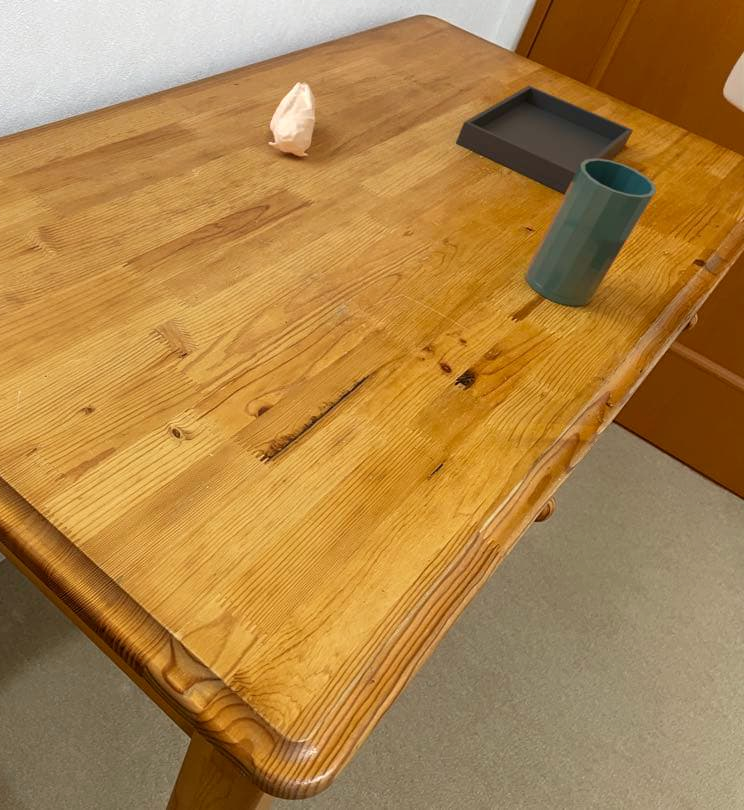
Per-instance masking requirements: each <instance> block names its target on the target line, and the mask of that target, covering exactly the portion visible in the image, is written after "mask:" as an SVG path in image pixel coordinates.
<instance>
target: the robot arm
mask: <svg viewBox="0 0 744 810" xmlns="http://www.w3.org/2000/svg"><path fill="white" fill-rule="evenodd" d="M722 95H723V97H724V99H725V100H726V101H727V102H728V103H729V104H731V105H733V106H734V107H735V108H737V109H738V110H740V111H741V112H743V113H744V51H743V52H742V53H741V55H740V57H739V58H738V59H737V61H736V63H735V64H734V66H733V67H732V69H731V72H730V73H729V75H728V76H727V79H726V81H725V83H724V86H723V91H722Z"/></svg>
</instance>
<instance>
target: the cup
mask: <svg viewBox="0 0 744 810" xmlns="http://www.w3.org/2000/svg"><path fill="white" fill-rule="evenodd" d="M656 194H657V188H656V184H655V183H653V181H652V180H651V179H650V178H649V177H648V176H646V175H644V174H643V173H641V172H640V171H638V170H637V169H635V168H633V167H630V166H628V165H626V164H623V163H621V162H617V161H613V160H605V159H597V158H596V159H595V158H594V159H587V160H585V161H583V162H582V163H581V164H580V166H579V168H578V170H577V172H576V174H575V176H574V178H573V180H572V182H571V184H570V185H569V187H568V189H567V191H566V193H565V194H563V197H562V198H561V201H560V203H559V205H558V207H557V209H556V211H555V212H554V215H553V217H552V218H551V221H550V222H549V224H548V226H547V228H546V230H545V232H544V234H543V236H542V238H541V240H540V242H539V244H538V245H537V248H536V249H535V252H534V253H533V255H532V257H531V260H530V261H529V263H528V266H527V268H526V270H525V272H524V273H525V274H524V276H525V281H526V282H527V284H528V285H529V287H530V288H531V289H532V290H534V291H535V292H536V293H537V294H538V295H540V296H542V297H543V298H545V299H547V300H549V301H552V302H554V303H556V304H561V305H564V306H570V307H581V306H586V305H587V304H590V303H591V301H592V300H593V298H594V296H595V295H596V294H597V292H598V291H599V289H600V287H601V286H602V284H603V282H604V281H605V279H606V277H607V276H608V274H609V272H610V271H611V269H612V267H613V266H614V264H615V262H616V261H617V259H618V258H619V255H620V254H621V253H622V250H623V249H624V247H625V245H626V244H627V242H628V240H629V239H630V237H631V235H632V234H633V232H634V230H635V229H636V227H637V225H638V223H640V221H641V219H642V217H643V215H644V214H645V212H646V210H647V208H648V207H649V205H650V204H651V202H652V200H653V198H654V197H655V195H656Z"/></svg>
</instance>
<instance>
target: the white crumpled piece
mask: <svg viewBox="0 0 744 810" xmlns="http://www.w3.org/2000/svg"><path fill="white" fill-rule="evenodd" d="M315 124H316V100H315V96H314V93H313V92H312V90H311V86H309V84H308V83H306V81H303V82H302V83H301V82H297V83H296V84H295V85H294V86H293V87H292V89H291V90H290V91H288V93H287V94H286V95H285V96H284V97H283V98H282V100H281V101H280V103H279V105H278V106H277V107H276V109H275V111H274V114H273V116H272V118H271V120H270V123H269V128H270V131H271V132H272V134H273V138H274V142H271V141H269V142H268V145H269V146H271V147H273V148H274V149H276V150H280V151H281V152H283V153H290V154H293V155H294V156H298V157H307V156H309V154H308V153H305V151H307V150H308V149H310V146H311V143H312V138H313V133H314V130H315V129H314V127H315Z"/></svg>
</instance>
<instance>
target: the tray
mask: <svg viewBox="0 0 744 810" xmlns="http://www.w3.org/2000/svg"><path fill="white" fill-rule="evenodd" d="M633 131H634V130H633V129H632V128H630V127H627V126H625V125H623V124H620V123H618V122H615V121H613V120H611V119H609V118H606V117H604V116H602V115H599V114H597V113H595V112H592V111H590V110H587V109H586V108H583V107H581V106H579V105H575V104H573V103H571V102H568V101H566V100H564V99H562V98H560V97H557V96H556V95H555V96H554V95H552V94H550V93H547V92H545V91H543V90H541V89H538V88H536V87H534V86H532V85H527V86H525V87H524V88H522V89H520V90H518V91H517V92H514V93H513V94H511V95H509V96H507V97H506V98H504V99H502V100H500V101H498V102H496V103H495V104H493V105H492V106H490V107H488V108H486V109H485V110H483V111H481V112H480V113H478V114H476V115H473V116H472V117H471V118H469V119H466V120H465V121H464V122H463V124H462V126H461V129H460V131H459V134H458V137H457V139H456V142H455V143H456V145H459V146H462V147H463V148H466V149H467V150H470V151H472V152H474V153H476V154H479V155H480V156H483V157H484V158H487V159H489V160H491V161H494V162H495V163H498V164H499V165H502V166H504V167H505V168H508V169H510V170H512V171H515V172H517V173H518V174H521V175H523V176H525V177H527V178H529V179H532V180H533V181H536V182H537V183H540V184H542V185H544V186H546V187H548V188H551V189H552V190H554V191H557V192H559V193H561V194H563V195H565V193H566V191H567V189H568V187H569V185H570V184H571V182H572V180H573V178H574V176H575V174H576V172H577V170H578V168H579V166H580V164H581V163H582V162H583V161H585V160H587V159H594V158H595V159H596V158H597V159H605V160H610V161H612V159H613V158H614V157H616V156H617V155H618V154H619V153H621V152H622V151H623V149H624V148H625V146H626V144H627V142H628V140H629V139H630V137H631V135H632V133H633Z"/></svg>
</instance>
